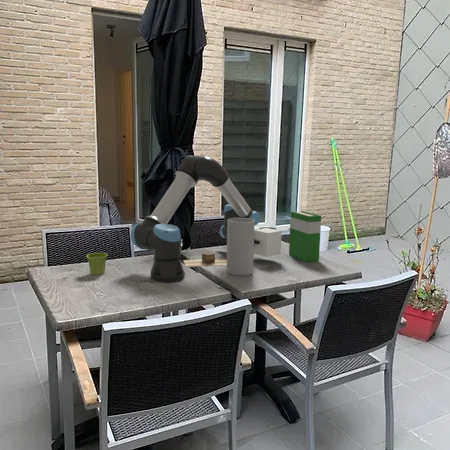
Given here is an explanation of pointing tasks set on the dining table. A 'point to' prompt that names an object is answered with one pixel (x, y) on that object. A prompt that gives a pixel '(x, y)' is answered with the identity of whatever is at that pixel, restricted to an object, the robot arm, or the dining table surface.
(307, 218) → the hardback book
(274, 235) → the white cover
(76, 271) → the dining table surface
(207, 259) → the walnut block
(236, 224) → the cylinder vase
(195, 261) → the wooden cutting board
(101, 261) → the plant pot
